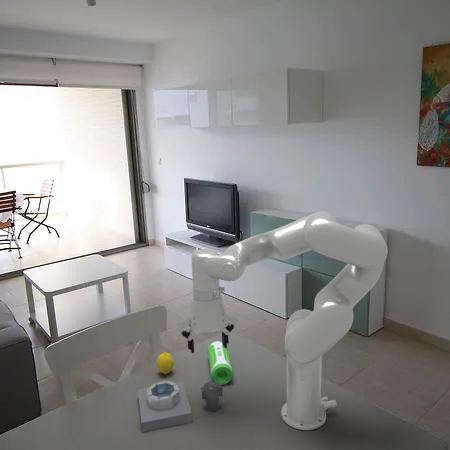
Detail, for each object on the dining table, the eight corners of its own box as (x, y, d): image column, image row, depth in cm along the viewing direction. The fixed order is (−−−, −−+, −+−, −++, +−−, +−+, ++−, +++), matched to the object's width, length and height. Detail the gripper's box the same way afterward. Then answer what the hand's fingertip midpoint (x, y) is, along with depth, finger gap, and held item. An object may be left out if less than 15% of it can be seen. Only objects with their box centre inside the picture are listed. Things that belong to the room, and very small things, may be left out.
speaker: (207, 359, 154) (206, 340, 152) (227, 357, 155) (226, 338, 153) (211, 387, 137) (210, 366, 135) (233, 385, 138) (233, 364, 136)
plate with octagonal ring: (183, 389, 136) (182, 381, 135) (192, 422, 121) (191, 412, 120) (138, 398, 132) (137, 389, 132) (142, 432, 117) (141, 422, 116)
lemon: (175, 369, 148) (174, 348, 146) (172, 378, 142) (170, 357, 140) (160, 369, 148) (158, 348, 146) (156, 378, 143) (154, 356, 141)
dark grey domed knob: (220, 400, 130) (219, 379, 128) (224, 409, 126) (223, 388, 124) (200, 404, 128) (199, 383, 127) (203, 413, 124) (202, 392, 123)
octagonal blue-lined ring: (176, 389, 131) (175, 379, 130) (181, 406, 123) (180, 396, 122) (146, 394, 129) (146, 384, 128) (149, 413, 120) (148, 402, 120)
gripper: (232, 285, 125) (233, 338, 129) (173, 291, 121) (177, 346, 125) (239, 294, 118) (240, 350, 122) (177, 301, 114) (180, 359, 118)
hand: (208, 348), depth 123 cm, fingers open, 9 cm apart
